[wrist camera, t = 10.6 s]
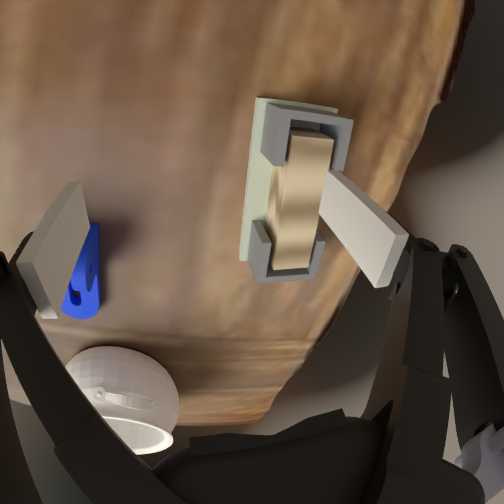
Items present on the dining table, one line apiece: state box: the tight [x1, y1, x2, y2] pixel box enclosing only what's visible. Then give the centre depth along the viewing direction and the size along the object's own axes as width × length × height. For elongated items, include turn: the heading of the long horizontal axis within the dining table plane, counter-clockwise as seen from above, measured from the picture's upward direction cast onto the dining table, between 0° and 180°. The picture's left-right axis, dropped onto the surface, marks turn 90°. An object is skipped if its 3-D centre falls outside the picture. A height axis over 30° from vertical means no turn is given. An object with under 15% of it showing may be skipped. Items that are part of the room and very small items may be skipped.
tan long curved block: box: [265, 127, 334, 270], centre depth 38 cm, size 18×5×6 cm, turn 175°
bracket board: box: [239, 97, 354, 283], centre depth 39 cm, size 24×11×7 cm, turn 174°
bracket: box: [61, 223, 101, 319], centre depth 38 cm, size 18×8×9 cm, turn 164°
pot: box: [65, 346, 179, 454], centre depth 51 cm, size 29×26×16 cm
